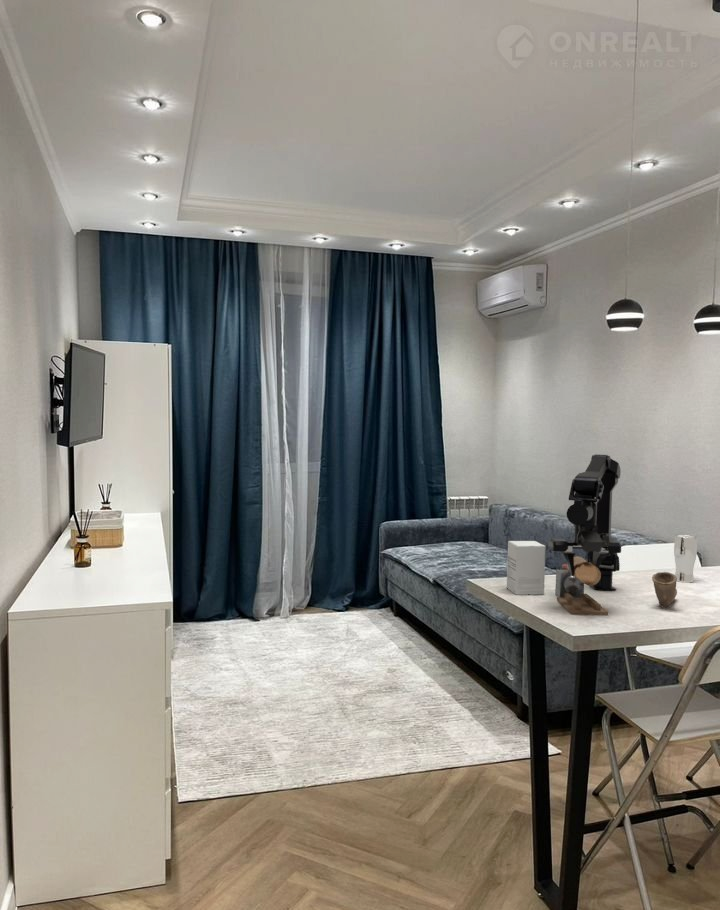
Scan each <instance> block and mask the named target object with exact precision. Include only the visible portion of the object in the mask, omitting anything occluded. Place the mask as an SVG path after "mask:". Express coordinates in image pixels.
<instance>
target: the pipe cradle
mask: <svg viewBox="0 0 720 910" xmlns="http://www.w3.org/2000/svg"><path fill="white" fill-rule="evenodd" d="M556 601H557V603H558V604H560V605H561V606H562V607H563V609H565V611H567V612H568V613H569V614H570V615H579V616H583V615H584V616H609V611H608V610H607V609H606V608H604V607H603V605H602V606H601V604H600V603H599V602H598V601H597V600H595V598H594V597H591V596H590V595H589V594H588V593H584V594H583V597H582V598H574V597H573V596H571V595H570V594H569V593H565V596H564V598H558V597H557V596H556Z"/></svg>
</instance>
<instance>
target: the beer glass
mask: <svg viewBox="0 0 720 910" xmlns="http://www.w3.org/2000/svg"><path fill="white" fill-rule="evenodd" d="M697 553H698V537H697V536H694V535H688V534H675V536H674V546H673V557H674V563H675V572H674V575H675V576H676V577H677V581H676V582H679V583H684V582H685V583H687V584H690V582H692V583H694V582H695V579H694V568H695V563H696V560H697V559H696V558H697Z"/></svg>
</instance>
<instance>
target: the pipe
mask: <svg viewBox="0 0 720 910" xmlns="http://www.w3.org/2000/svg"><path fill="white" fill-rule="evenodd" d="M651 578H652V583H653V587H654V591H655V595H656V598H657V600H658V603H659V605H660V607H661V608H664V607H665V608H667V607H668V606H669V605H671V603H672V602H673V601H674V600H675V599H676V597H677V594H678V590H677V582H678V581H677V577H676V576H675V573H671V572H667V571H663V572H659V571H658V572H656V573H654V574H653V575H652V577H651Z"/></svg>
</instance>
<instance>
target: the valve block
mask: <svg viewBox="0 0 720 910" xmlns="http://www.w3.org/2000/svg"><path fill="white" fill-rule="evenodd" d="M561 566H562V567H561V568H562V569H555V571H556V572H555V590H554V591H555V593H554V594H555V596H556V598H557V597H558V598H564V596H565V593H569V594H570V595H571V596H573V597H574V598H582V597H583V594H585V584H584V583H583V582H581V581H580V580H579V579H577V578H576V577H575V576H572V575H571V573H570V572H569V571H568V568H567V563H563V564H562V565H561Z"/></svg>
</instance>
